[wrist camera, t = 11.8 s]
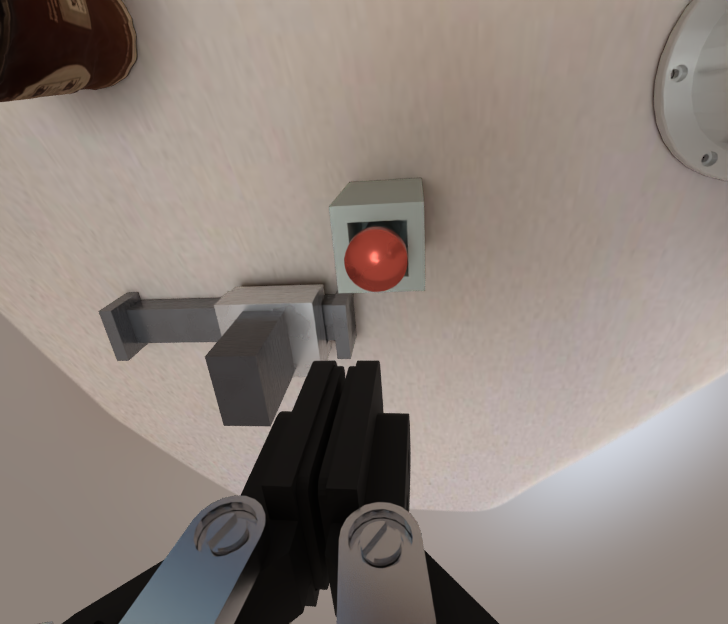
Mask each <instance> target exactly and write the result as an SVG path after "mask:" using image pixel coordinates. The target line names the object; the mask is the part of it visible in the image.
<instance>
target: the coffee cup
mask: <svg viewBox="0 0 728 624" xmlns="http://www.w3.org/2000/svg"><path fill="white" fill-rule="evenodd" d="M132 25H133V22H132V18H131V16H130V15H129V13H128V11H127V9H126V7H125V5H124V3H123V2H122V1H121V0H0V102H7V101H14V100H23V99H31V98H37V97H44V96H53V95H63V94H72V93H75V92H77V91H79V90H82V89H92V90H97V89H101V88H106V87H110V86H113V85H115V84H116V83H118V82H119V81H120V80H122V79H124V78H125V77H126V76H127V75H128V72H129V70H130V69H131V67H132V66H133V64H134V63H135V61H136V58H137V52H136V45H135V42H136V32H135V30H134V28H133V26H132Z"/></svg>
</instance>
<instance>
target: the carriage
mask: <svg viewBox="0 0 728 624" xmlns="http://www.w3.org/2000/svg"><path fill="white" fill-rule="evenodd" d="M324 297H325V296H324V288H323V284H318V285H285V286H253V287H235V288H234V289H233V290H232V291H228V292H227V293H226V294H225V295H224V296H223V297H222V298H221V299H220V300H219V301H218V302H217V303H216V304H215V305H214V308H215V312H216V316H217V320H218V324H219V328H220V332H221V336H222V337H221V338H220V339H219V340H218V342H217V343H216V344H215V345H214V346H213V348H212V349H211V350H210V351H209V352H208V354H207V355H206V356H205V359H206V362H207V366H208V370H209V373H210V377H211V380H212V384H213V388H214V391H215V395H216V399H217V402H218V406H219V410H220V413H221V417H222V421H223V424H224V426H271V424H272V422H273V420H274V417H275V415H276V413H277V411H278V408H279V406H280V404H281V402H282V399H283V397H284V395H285V393H286V390H287V388H288V386H289V384H290V381H291V379H292V377H307V374H308V372H309V369H310V367H311V365H312V363H313V361H328V356H329V353H330V350H331V344H330V340H326V336H325V328H324V320H323V313H322V305H321V303H322V301H323V299H324Z"/></svg>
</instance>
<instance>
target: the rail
mask: <svg viewBox="0 0 728 624" xmlns="http://www.w3.org/2000/svg"><path fill="white" fill-rule="evenodd" d="M324 296H325V297H324V299H323V301H322V303H321V305H322V313H323V320H324V328H325V336H326V340H335V341H336V350H337V358H338V359H351V356H352V352H353V348H354V344H355V340H356V336H357V335H356V324H355V313H354V303H353V293H338V291H337V293H336V295H324ZM220 299H221V298H194V299H157V300H140V296H139V293H138V292H131V293H126V294H124V295H123V296H121V297H120V298H118V299H117V300H115V301H113V302H112V303H110V304H109V305H107V306H106V307H104V308H103V309H101V310H100V311H99V314H100V316H101V319H102V322H103V324H104V327H105V330H106V332H107V335H108V338H109V340H110V343H111V345H112V348H113V351H114V353H115V356H116V359H117V361H129V360H130V359H131V358H132V357H133V356H134V355H135V354H137V353H138V352H139V351H140V350H141V349H142V348H143V347H144V346H145V345H147V344H148V343H171V342H218V340H219V339H220V338H221V337H222V336H221V332H220V328H219V324H218V320H217V316H216V312H215V308H214V305H215V304H216V303H217V302H218V301H219V300H220Z"/></svg>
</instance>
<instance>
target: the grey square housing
mask: <svg viewBox="0 0 728 624" xmlns="http://www.w3.org/2000/svg"><path fill="white" fill-rule="evenodd" d="M329 213H330V222H331V231H332V240H333V249H334V259H335V268H336V277H337V286H338V293H367V292H372V291H367V290H364V289H362V288H360V287H358V286H357V285H356V284H354V283H353V282H352V280H351V279H350V278H349V276H348V275H347V272H346V270H345V265H344V257H345V252H346V250H347V247H348V245H349V243H350V241H351V240H352V238H353V237H354V236H355V235H356V234H357V233H358V232H360V231H361V230H363V229H365V228H366V226H367V223H368V222H371V221H392V220H400V223H401V234H400V237H401V239H402V240H403V242H404V243H405V246H406V248H407V254H408V258H407V269H406V273H405V275H404V277H403V278H402V280H401V281H400V282H399V283H398V284H397V285H396V286H394V287H393V288H391V289H389V290H386V291H382V292H403V291H425V241H424V197H423V187H422V178H409V179H393V180H377V181H360V182H349V183H348V184H347V186H346V187H345V188H344V189H343V190H342V192H341V193H340V194H339V195H338V196H337V198H336V199H335V200H334V201H333V202H332V204H331V205H330V206H329Z"/></svg>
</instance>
